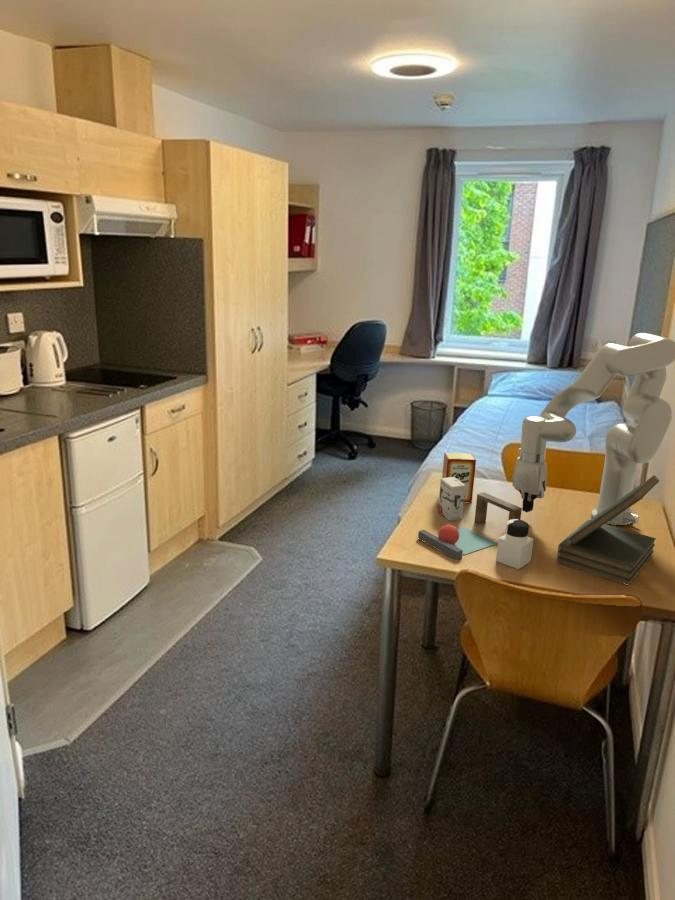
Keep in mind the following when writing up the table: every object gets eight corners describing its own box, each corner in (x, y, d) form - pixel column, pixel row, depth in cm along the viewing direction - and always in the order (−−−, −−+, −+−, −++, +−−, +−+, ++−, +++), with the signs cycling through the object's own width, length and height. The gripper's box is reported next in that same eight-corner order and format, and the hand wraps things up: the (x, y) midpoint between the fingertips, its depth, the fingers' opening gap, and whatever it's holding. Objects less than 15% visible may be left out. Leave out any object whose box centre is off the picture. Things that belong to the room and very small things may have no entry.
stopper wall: (461, 558, 182) (462, 550, 181) (456, 560, 181) (457, 551, 180) (423, 537, 194) (423, 529, 193) (418, 538, 193) (418, 531, 192)
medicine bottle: (531, 561, 181) (536, 522, 177) (518, 570, 176) (523, 529, 172) (508, 553, 186) (512, 514, 182) (495, 561, 181) (499, 521, 177)
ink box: (436, 510, 214) (439, 477, 210) (450, 509, 215) (453, 476, 212) (448, 521, 206) (452, 486, 203) (462, 519, 208) (466, 485, 204)
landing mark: (497, 543, 191) (497, 543, 191) (464, 555, 184) (464, 554, 183) (463, 526, 202) (463, 526, 202) (430, 537, 194) (430, 536, 194)
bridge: (480, 520, 207) (483, 492, 204) (518, 537, 196) (521, 508, 193) (474, 522, 206) (477, 494, 203) (511, 540, 194) (515, 510, 191)
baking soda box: (467, 495, 228) (471, 452, 223) (471, 503, 222) (476, 458, 217) (440, 495, 227) (444, 452, 223) (444, 502, 221) (448, 457, 216)
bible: (584, 537, 198) (596, 460, 191) (652, 558, 186) (668, 476, 179) (555, 563, 181) (567, 479, 174) (628, 587, 169) (645, 498, 162)
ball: (455, 552, 188) (466, 535, 189) (445, 542, 184) (457, 525, 185) (440, 544, 193) (451, 527, 194) (430, 534, 189) (442, 518, 190)
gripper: (505, 452, 205) (501, 506, 211) (544, 464, 194) (539, 521, 199) (521, 448, 209) (516, 500, 215) (560, 460, 198) (554, 515, 203)
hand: (527, 510), depth 207 cm, fingers closed
